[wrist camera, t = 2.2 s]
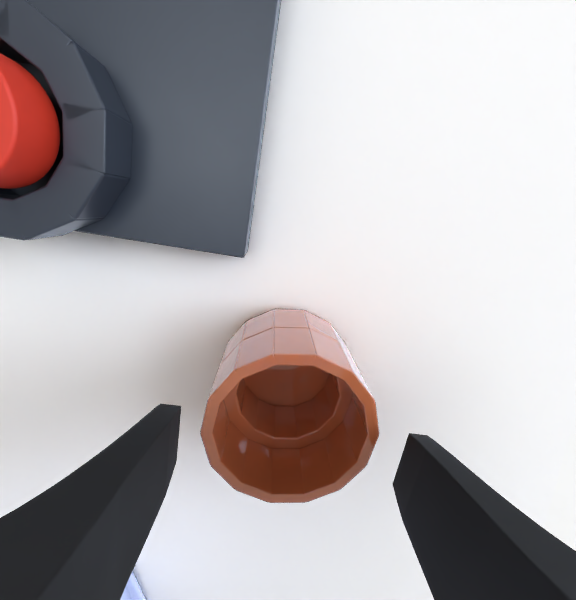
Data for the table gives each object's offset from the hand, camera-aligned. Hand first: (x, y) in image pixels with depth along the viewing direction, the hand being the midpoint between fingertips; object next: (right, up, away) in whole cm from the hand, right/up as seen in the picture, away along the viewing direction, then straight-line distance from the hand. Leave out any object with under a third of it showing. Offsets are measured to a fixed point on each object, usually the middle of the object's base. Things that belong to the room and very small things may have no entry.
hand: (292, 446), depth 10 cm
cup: (0, +2, +5) cm, 6 cm away
